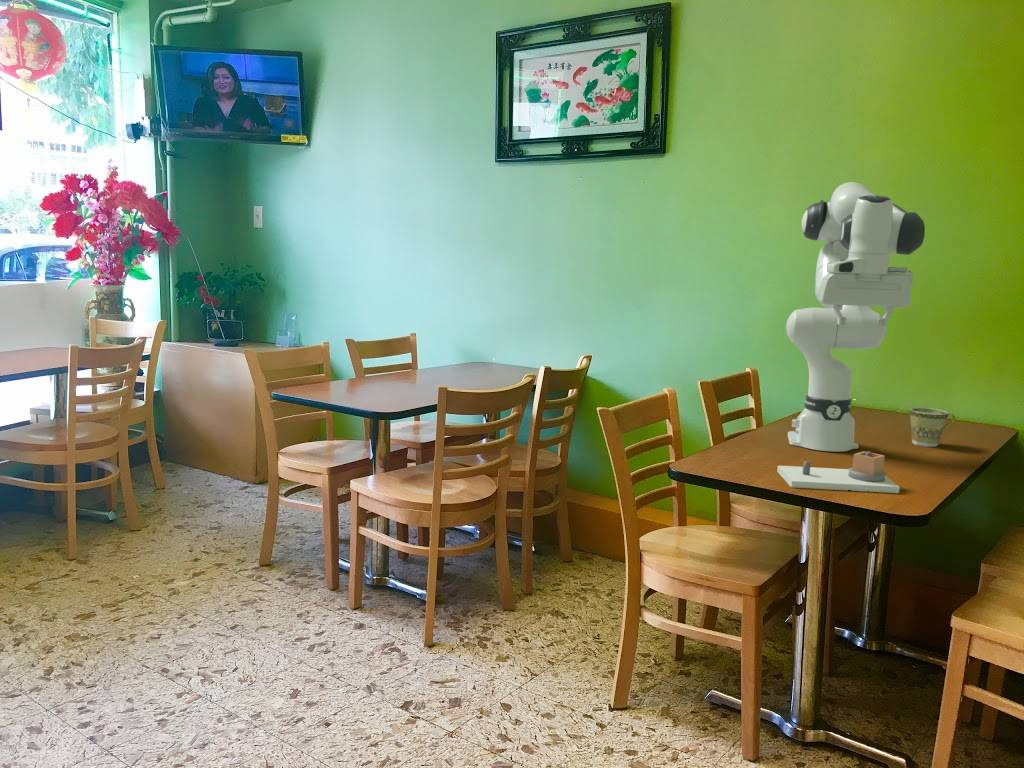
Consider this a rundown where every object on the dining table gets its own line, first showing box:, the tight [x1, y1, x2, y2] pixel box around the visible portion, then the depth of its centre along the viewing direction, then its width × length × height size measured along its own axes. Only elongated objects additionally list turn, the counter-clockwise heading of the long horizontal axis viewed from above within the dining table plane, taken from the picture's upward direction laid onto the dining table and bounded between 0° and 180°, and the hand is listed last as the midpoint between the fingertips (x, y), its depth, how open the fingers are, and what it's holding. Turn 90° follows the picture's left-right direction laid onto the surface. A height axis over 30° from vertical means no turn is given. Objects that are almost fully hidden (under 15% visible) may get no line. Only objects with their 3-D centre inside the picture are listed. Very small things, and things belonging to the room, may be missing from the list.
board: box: [776, 451, 901, 494], centre depth 193 cm, size 14×24×8 cm, turn 85°
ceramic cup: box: [909, 407, 956, 448], centre depth 236 cm, size 13×10×10 cm
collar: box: [852, 451, 886, 475], centre depth 192 cm, size 5×5×4 cm
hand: (861, 325), depth 192 cm, fingers open, 8 cm apart
